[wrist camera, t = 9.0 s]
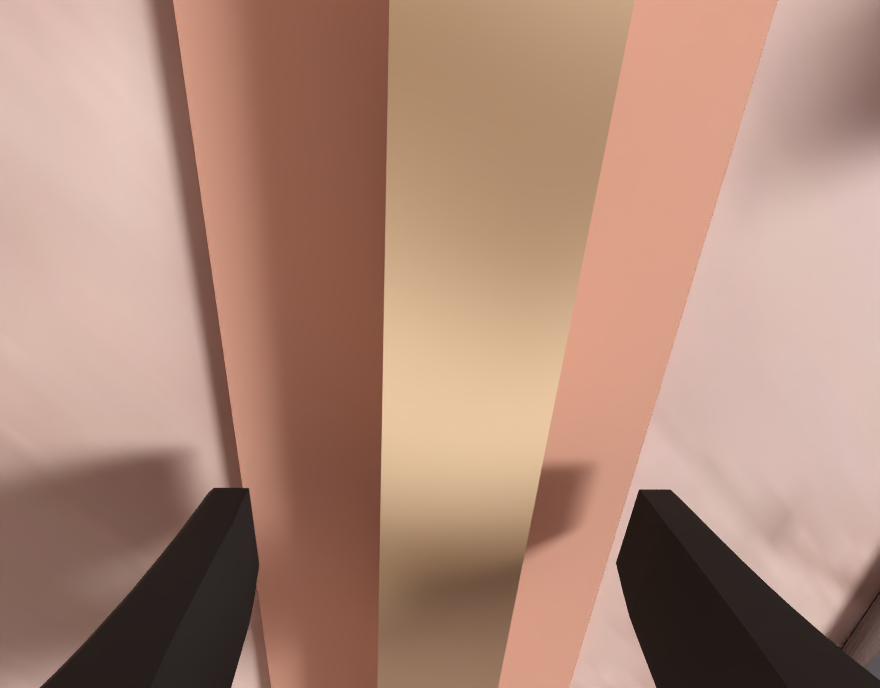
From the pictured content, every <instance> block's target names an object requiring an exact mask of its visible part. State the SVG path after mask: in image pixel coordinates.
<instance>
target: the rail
mask: <svg viewBox="0 0 880 688" xmlns="http://www.w3.org/2000/svg"><path fill="white" fill-rule="evenodd" d="M634 1H635V0H389V49H388V106H387V163H386V221H385V278H384V335H383V393H382V450H381V507H380V565H379V622H378V679H377V688H498V686H499V681H500V676H501V671H502V666H503V661H504V655H505V650H506V645H507V640H508V635H509V630H510V625H511V620H512V615H513V610H514V605H515V600H516V595H517V590H518V585H519V580H520V575H521V570H522V565H523V560H524V555H525V550H526V545H527V540H528V535H529V530H530V525H531V520H532V515H533V509H534V504H535V499H536V494H537V489H538V484H539V479H540V474H541V469H542V464H543V459H544V454H545V449H546V444H547V439H548V434H549V429H550V424H551V419H552V414H553V409H554V404H555V399H556V394H557V389H558V384H559V379H560V374H561V369H562V363H563V358H564V353H565V348H566V343H567V338H568V333H569V328H570V323H571V318H572V313H573V308H574V303H575V298H576V293H577V288H578V283H579V278H580V273H581V268H582V263H583V258H584V253H585V248H586V243H587V238H588V233H589V228H590V223H591V218H592V212H593V207H594V202H595V197H596V192H597V187H598V182H599V177H600V172H601V167H602V162H603V157H604V152H605V147H606V142H607V137H608V132H609V127H610V122H611V117H612V112H613V107H614V102H615V97H616V92H617V87H618V82H619V77H620V72H621V66H622V61H623V56H624V51H625V46H626V41H627V36H628V31H629V26H630V21H631V16H632V11H633V6H634Z"/></svg>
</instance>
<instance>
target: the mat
mask: <svg viewBox="0 0 880 688" xmlns="http://www.w3.org/2000/svg"><path fill="white" fill-rule="evenodd" d="M777 1H778V0H635V1H634V6H633V11H632V16H631V21H630V26H629V31H628V36H627V41H626V46H625V51H624V56H623V61H622V66H621V72H620V77H619V82H618V87H617V92H616V97H615V102H614V107H613V112H612V117H611V122H610V127H609V132H608V137H607V142H606V147H605V152H604V157H603V162H602V167H601V172H600V177H599V182H598V187H597V192H596V197H595V202H594V207H593V212H592V218H591V223H590V228H589V233H588V238H587V243H586V248H585V253H584V258H583V263H582V268H581V273H580V278H579V283H578V288H577V293H576V298H575V303H574V308H573V313H572V318H571V323H570V328H569V333H568V338H567V343H566V348H565V353H564V358H563V363H562V369H561V374H560V379H559V384H558V389H557V394H556V399H555V404H554V409H553V414H552V419H551V424H550V429H549V434H548V439H547V444H546V449H545V454H544V459H543V464H542V469H541V474H540V479H539V484H538V489H537V494H536V499H535V504H534V509H533V515H532V520H531V525H530V530H529V535H528V540H527V545H526V550H525V555H524V560H523V565H522V570H521V575H520V580H519V585H518V590H517V595H516V600H515V605H514V610H513V615H512V620H511V625H510V630H509V635H508V640H507V645H506V650H505V655H504V661H503V666H502V671H501V676H500V681H499V686H498V688H569V685H570V682H571V679H572V676H573V672H574V669H575V666H576V662H577V659H578V656H579V653H580V649H581V646H582V643H583V639H584V636H585V633H586V630H587V626H588V623H589V620H590V616H591V613H592V610H593V607H594V603H595V600H596V597H597V593H598V590H599V587H600V583H601V580H602V577H603V574H604V570H605V567H606V564H607V560H608V557H609V554H610V551H611V547H612V544H613V541H614V537H615V534H616V531H617V528H618V524H619V521H620V518H621V514H622V511H623V508H624V504H625V501H626V498H627V495H628V491H629V488H630V485H631V481H632V478H633V475H634V472H635V468H636V465H637V462H638V458H639V455H640V452H641V449H642V445H643V442H644V439H645V435H646V432H647V429H648V425H649V422H650V419H651V416H652V412H653V409H654V406H655V402H656V399H657V396H658V393H659V389H660V386H661V383H662V379H663V376H664V373H665V370H666V366H667V363H668V360H669V356H670V353H671V350H672V347H673V343H674V340H675V337H676V333H677V330H678V327H679V323H680V320H681V317H682V314H683V310H684V307H685V304H686V300H687V297H688V294H689V291H690V287H691V284H692V281H693V277H694V274H695V271H696V268H697V264H698V261H699V258H700V254H701V251H702V248H703V244H704V241H705V238H706V235H707V231H708V228H709V225H710V221H711V218H712V215H713V212H714V208H715V205H716V202H717V198H718V195H719V192H720V189H721V185H722V182H723V179H724V175H725V172H726V169H727V165H728V162H729V159H730V156H731V152H732V149H733V146H734V142H735V139H736V136H737V133H738V129H739V126H740V123H741V119H742V116H743V113H744V110H745V106H746V103H747V100H748V96H749V93H750V90H751V87H752V83H753V80H754V77H755V73H756V70H757V67H758V63H759V60H760V57H761V54H762V50H763V47H764V44H765V40H766V37H767V34H768V31H769V27H770V24H771V21H772V17H773V14H774V11H775V8H776V4H777ZM173 4H174V11H175V18H176V25H177V32H178V39H179V46H180V53H181V60H182V67H183V74H184V81H185V88H186V95H187V102H188V109H189V116H190V123H191V130H192V137H193V144H194V151H195V158H196V165H197V172H198V179H199V186H200V193H201V200H202V207H203V214H204V221H205V228H206V235H207V242H208V249H209V256H210V263H211V270H212V277H213V284H214V291H215V298H216V305H217V312H218V319H219V326H220V333H221V340H222V347H223V354H224V361H225V368H226V375H227V382H228V389H229V396H230V403H231V410H232V417H233V424H234V431H235V438H236V445H237V452H238V459H239V466H240V473H241V480H242V487H243V488H249V492H250V499H251V506H252V514H253V521H254V529H255V536H256V543H257V551H258V558H259V571H258V577H257V583H256V585H257V592H258V599H259V606H260V613H261V620H262V627H263V634H264V641H265V648H266V655H267V662H268V669H269V676H270V683H271V688H377V679H378V622H379V565H380V507H381V450H382V393H383V335H384V278H385V221H386V163H387V106H388V49H389V0H173Z"/></svg>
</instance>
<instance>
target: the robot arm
mask: <svg viewBox="0 0 880 688" xmlns="http://www.w3.org/2000/svg"><path fill="white" fill-rule="evenodd" d="M616 565H617V569H618V573H619V577H620V581H621V586H622V590H623V594H624V598H625V601H626V605H627V609H628V613H629V616H630V619H631V622H632V625H633V627H634V630H635V633H636V635H637V638H638V641H639V643H640V646H641V649H642V651H643V654H644V656H645V659H646V662H647V664H648V667H649V669H650V672H651V675H652V677H653V680H654V682H655V685H656V688H880V680H879V679H878V678H876V677H875V676H874V675H873V674H871V673H870V672H869V671H867V670H866V669H865V668H864V667H862V666H861V665H860V664H859V663H857V662H856V661H855V660H853V659H852V658H851V657H850V656H848V655H847V654H846V653H845V652H844V651H842V650H841V649H840V648H839V647H837V646H836V645H835V644H834V643H833V642H831V641H830V640H829V639H828V638H827V637H825V636H824V635H823V634H822V633H821V632H820V631H819V630H817V629H816V628H815V627H814V626H813V625H812V624H811V623H809V622H808V621H807V620H806V619H805V618H804V617H803V616H801V615H800V614H799V613H798V612H797V611H796V610H795V609H793V608H792V607H791V606H790V605H789V604H788V603H787V602H786V601H785V600H783V599H782V598H781V597H780V596H779V595H778V594H777V593H776V592H775V591H774V590H773V589H771V588H770V587H769V586H768V585H767V584H766V583H765V582H764V581H763V580H762V579H761V578H760V577H759V576H758V575H757V574H756V573H755V572H754V571H752V570H751V569H750V568H749V567H748V566H747V565H746V564H745V563H744V562H743V561H742V560H741V559H740V558H739V557H738V556H737V555H736V554H735V553H734V552H733V551H732V550H731V549H730V548H729V547H728V546H727V545H726V544H725V543H724V542H723V541H722V540H721V539H720V538H719V537H718V536H717V535H716V534H715V533H714V532H713V531H712V530H711V529H710V528H709V527H708V526H707V525H706V524H705V523H704V522H703V521H702V520H701V519H700V518H699V517H698V516H697V515H696V514H695V513H694V512H693V511H692V510H691V509H690V508H689V507H688V506H687V505H686V504H685V503H684V502H683V501H682V500H681V499H680V498H679V497H678V496H677V495H676V494H674V493H673V492H672V491H671V490H639V492H638V495H637V498H636V501H635V505H634V508H633V511H632V514H631V517H630V520H629V524H628V527H627V530H626V533H625V536H624V539H623V543H622V546H621V549H620V552H619V555H618V558H617V562H616ZM258 571H259V558H258V551H257V543H256V536H255V529H254V521H253V514H252V506H251V499H250V492H249V488H214V489H212V490H211V491H210V492H209V493H208V494H207V495H206V497H205V498H204V500H203V501H202V502H201V504H200V505H199V506H198V508H197V509H196V510H195V512H194V513H193V514H192V516H191V517H190V518H189V520H188V521H187V522H186V524H185V525H184V526H183V528H182V529H181V530H180V532H179V533H178V534H177V536H176V537H175V538H174V539H173V541H172V542H171V543H170V544H169V546H168V547H167V548H166V550H165V551H164V552H163V553H162V555H161V556H160V557H159V558H158V559H157V561H156V562H155V563H154V564H153V565H152V567H151V568H150V569H149V570H148V571H147V573H146V574H145V575H144V576H143V577H142V579H141V580H140V581H139V582H138V583H137V585H136V586H135V587H134V588H133V589H132V591H131V592H130V593H129V594H128V595H127V596H126V598H125V599H124V600H123V601H122V602H121V603H120V604H119V605H118V606H117V608H116V609H115V610H114V611H113V612H112V613H111V614H110V615H109V616H108V618H107V619H106V620H105V621H104V622H103V623H102V624H101V625H100V626H99V627H98V629H97V630H96V631H95V632H94V633H93V634H92V635H91V636H90V637H89V638H88V640H87V641H86V642H85V643H84V644H83V645H82V646H81V647H80V648H79V649H78V650H77V651H76V652H75V653H74V654H73V655H72V656H71V657H70V658H69V659H68V660H67V661H66V662H65V663H64V664H63V665H62V666H61V667H60V668H59V669H58V670H57V671H56V672H55V673H54V674H53V675H52V676H51V677H50V678H49V679H48V680H47V681H46V682H45V683H44V684H43V685H42V686H41V687H40V688H231V686H232V682H233V679H234V675H235V672H236V668H237V665H238V661H239V658H240V654H241V651H242V647H243V644H244V640H245V637H246V633H247V630H248V626H249V622H250V617H251V612H252V606H253V601H254V595H255V589H256V583H257V577H258Z"/></svg>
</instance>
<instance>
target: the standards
mask: <svg viewBox="0 0 880 688" xmlns="http://www.w3.org/2000/svg"><path fill="white" fill-rule="evenodd" d="M842 651H844V652H845V653H846V654H847V655H848V656H850V657H851V658H852V659H853V660H855V661H856V662H857V663H859V664H860V665H861V666H862V667H864V668H865V669H866V670H867V671H869V672H870V673H871V674H873V675H874V676H875V677H876V678H878V679H879V680H880V594H879V595H878V597H877V598H876V600H875V601H874V603H873V604H872V605H871V607H870V608H869V610H868V611H867V613H866V614H865V616H864V617H863V619H862V620H861V622H860V623H859V625H858V626H857V628H856V629H855V631H854V632H853V634H852V635H851V637H850V638H849V640H848V641H847V643H846V644H845V645H844V647H843V648H842Z"/></svg>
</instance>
